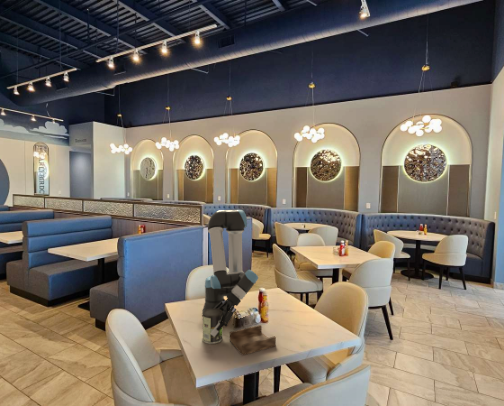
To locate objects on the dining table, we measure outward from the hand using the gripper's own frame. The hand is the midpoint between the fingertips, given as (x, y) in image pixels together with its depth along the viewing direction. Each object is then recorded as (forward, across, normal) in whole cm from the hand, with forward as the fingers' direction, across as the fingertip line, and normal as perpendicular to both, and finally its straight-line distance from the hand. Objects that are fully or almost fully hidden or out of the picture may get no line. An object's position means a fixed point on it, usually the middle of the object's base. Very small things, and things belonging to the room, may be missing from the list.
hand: (208, 330), depth 152 cm
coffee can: (+2, 0, -5) cm, 5 cm away
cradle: (-10, -14, -16) cm, 23 cm away
